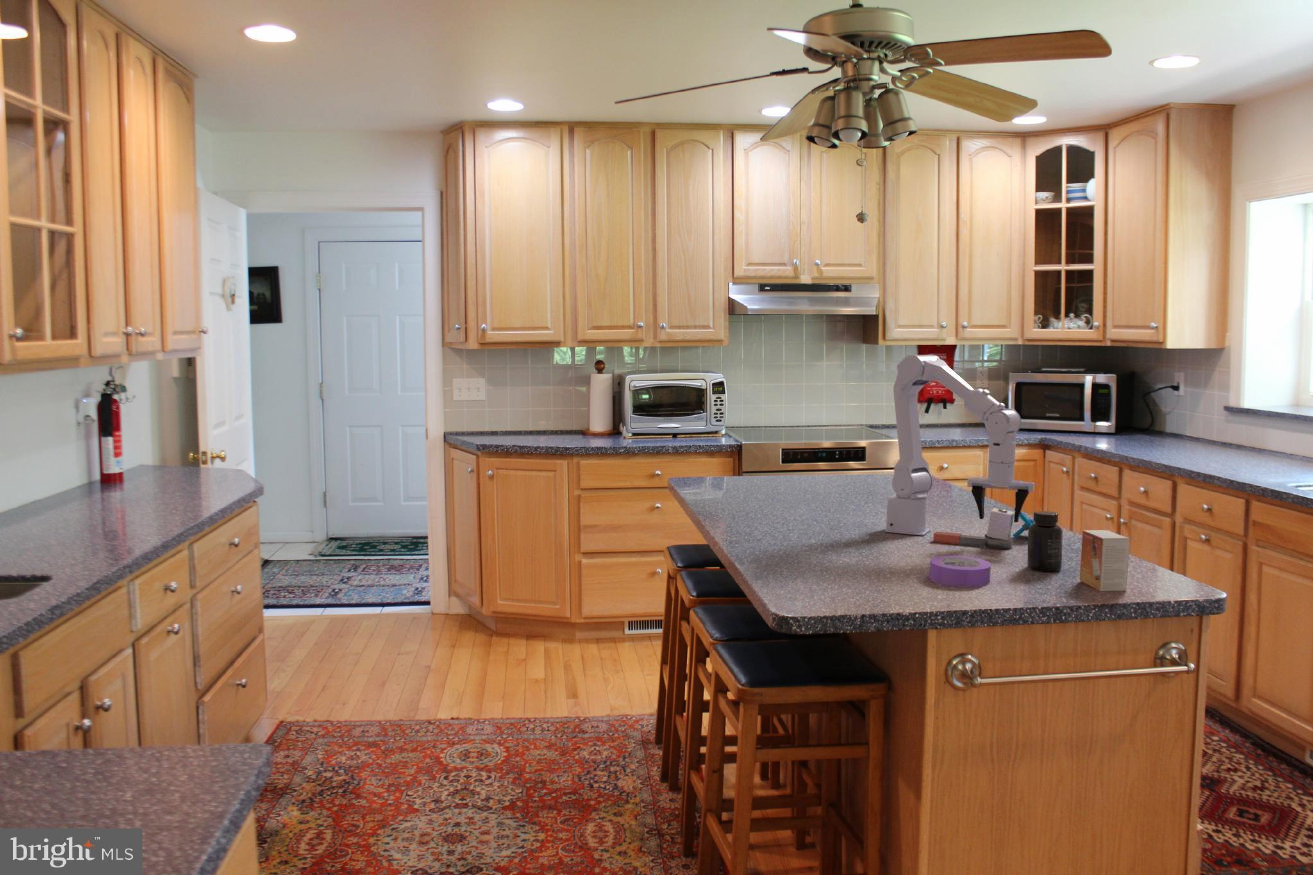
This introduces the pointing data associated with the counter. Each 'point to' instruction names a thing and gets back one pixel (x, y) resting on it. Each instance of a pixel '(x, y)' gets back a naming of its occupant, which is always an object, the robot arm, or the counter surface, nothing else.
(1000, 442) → the robot arm
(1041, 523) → the supplement bottle
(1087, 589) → the counter surface
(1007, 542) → the ratchet
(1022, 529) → the gear
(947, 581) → the masking tape
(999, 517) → the socket
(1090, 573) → the small box
